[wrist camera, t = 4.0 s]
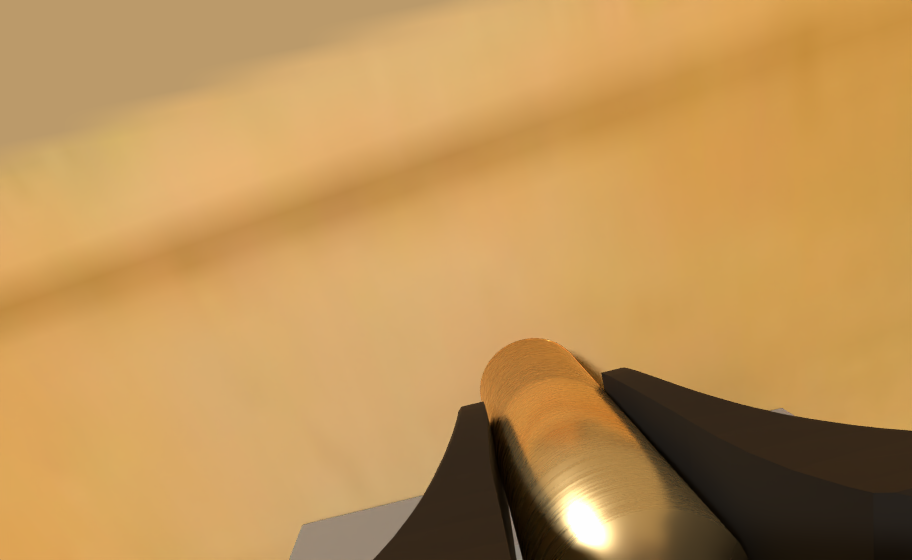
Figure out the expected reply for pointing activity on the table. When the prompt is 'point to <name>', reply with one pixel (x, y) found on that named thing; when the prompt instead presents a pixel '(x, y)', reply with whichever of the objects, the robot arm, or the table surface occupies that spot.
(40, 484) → the table surface
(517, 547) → the hole plate
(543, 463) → the brass pin
